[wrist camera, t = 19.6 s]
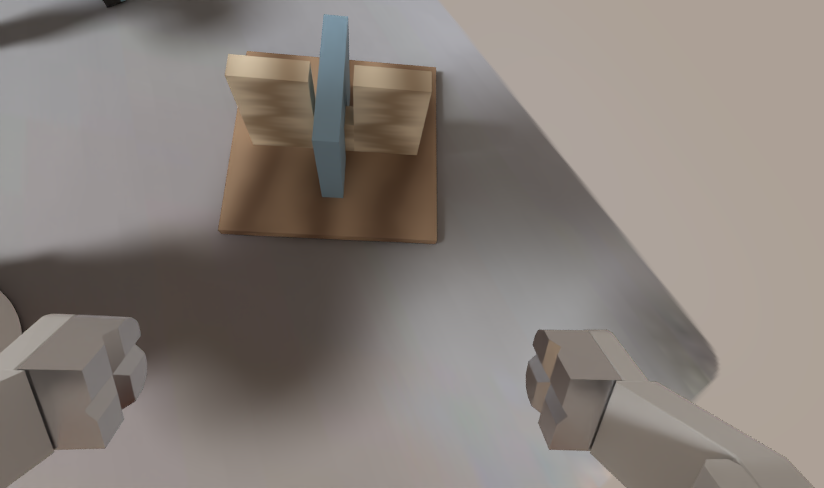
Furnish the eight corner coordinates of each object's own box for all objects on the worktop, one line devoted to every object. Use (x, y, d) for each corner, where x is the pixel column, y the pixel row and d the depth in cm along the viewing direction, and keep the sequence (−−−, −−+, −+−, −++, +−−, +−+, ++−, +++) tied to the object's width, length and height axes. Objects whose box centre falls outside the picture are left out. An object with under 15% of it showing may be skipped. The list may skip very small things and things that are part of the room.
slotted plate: (343, 198, 43) (338, 142, 34) (321, 196, 43) (311, 140, 34) (350, 92, 47) (348, 16, 38) (330, 91, 47) (323, 14, 38)
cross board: (221, 233, 42) (176, 179, 32) (249, 57, 49) (219, -35, 38) (435, 244, 44) (458, 195, 34) (434, 73, 51) (453, -11, 40)
